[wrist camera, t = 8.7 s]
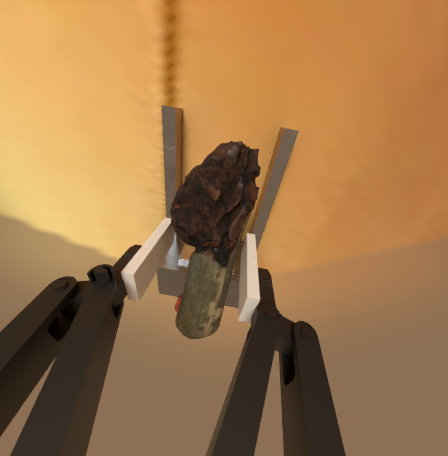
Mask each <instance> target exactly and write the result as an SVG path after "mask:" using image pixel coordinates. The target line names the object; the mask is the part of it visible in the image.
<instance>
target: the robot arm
mask: <svg viewBox="0 0 448 456" xmlns="http://www.w3.org/2000/svg"><path fill="white" fill-rule="evenodd" d="M173 243H174V228H173V226H172V224H171V218H166V217H165V218H164V220H163V221H162V222H161V223H160V225H159V226H158V227H157V228H156V230H155V231H154V232H153V233H152V234H151V236H150V237H149V238H148V239H147V241H146V242H145V243H144V244H143V246H141V245H134V246H132V247H130V248H129V249H128V250H127V251H126V252H125V254H124V255H123V256H122V257H121V258H120V259H119V260H118V261H117V262H116V263H115V265H114V266H113V267H112V266H110V265H106V264H103V265H98V266H96V267H94V268H92V269H91V270H90V271H89V272H88V273H87V275H88V277H89V279H90V281H78V282H77V280H76V279H75V278H74V277H70V276H68V277H62V278H59V279H57V280H55V281H53V282H52V283H50V284H49V285H48V286H47V287H46V288H45V289H44V290H43V291H42V292H41V293H40V294H39V295H38V296H37V297H36V298H35V299H34V300H33V301H32V302H31V303H30V304H29V305H28V306H26V308H24V309H23V311H21V312H20V313H19V314H18V315H17V316H16V317H15V318H14V319H13V320H12V321H11V322H10V323H9V324H8V325H7V326H6V327H5V328H4V329H3V330H2V331H1V332H0V437H1V435H2V434H3V432H4V431H5V429H6V428H7V426H8V425H9V424H10V422H11V421H12V419H13V418H14V416H15V415H16V413H17V412H18V411H19V409H20V408H21V406H22V405H23V403H24V402H25V401H26V399H27V398H28V396H29V395H30V393H31V392H32V390H33V389H34V387H35V386H36V385H37V383H38V382H39V380H40V379H41V378H42V376H43V375H44V373H45V372H46V370H47V369H48V367H49V366H50V364H51V363H52V362H53V360H54V359H55V357H56V356H57V357H56V359H55V361H54V363H53V365H52V367H51V370H50V372H49V374H48V376H47V378H46V380H45V382H44V385H43V387H42V389H41V391H40V393H39V395H38V397H37V400H36V402H35V404H34V406H33V408H32V410H31V412H30V415H29V417H28V419H27V421H26V423H25V425H24V427H23V430H22V432H21V434H20V436H19V438H18V440H17V442H16V445H15V447H14V449H13V451H12V453H11V455H10V456H86V452H87V448H88V444H89V440H90V436H91V432H92V428H93V424H94V421H95V416H96V413H97V409H98V404H99V401H100V397H101V393H102V389H103V385H104V381H105V376H106V373H107V369H108V365H109V361H110V357H111V353H112V349H113V345H114V341H115V337H116V333H117V329H118V326H119V321H120V318H121V314H122V309H123V306H124V301H123V300H124V298H125V297H126V295H127V297H128V299H129V300H134V301H140V299H141V298H142V296H143V294H144V293H145V291H146V289H147V287H148V286H149V284H150V282H151V280H152V279H153V277H154V275H155V274H156V272H157V270H158V268H159V267H160V265H161V263H162V262H163V260H164V258H165V256H166V255H167V253H168V251H169V249H170V248H171V246H172V244H173ZM250 320H251V327H250V329H249V331H248V333H247V338H246V341H245V344H244V347H243V349H242V352H241V355H240V358H239V361H238V364H237V367H236V370H235V372H234V376H233V378H232V381H231V384H230V387H229V390H228V393H227V396H226V398H225V401H224V404H223V407H222V410H221V413H220V416H219V419H218V421H217V425H216V427H215V430H214V433H213V436H212V439H211V442H210V444H209V448H208V450H207V453H206V456H254V452H255V447H256V442H257V437H258V432H259V427H260V422H261V417H262V411H263V407H264V401H265V396H266V391H267V386H268V382H269V376H270V371H271V366H272V361H273V356H274V351H275V350H276V351H278V352H279V363H280V384H281V405H282V425H283V445H284V456H346V455H345V451H344V447H343V443H342V439H341V434H340V430H339V425H338V422H337V417H336V413H335V408H334V404H333V400H332V396H331V391H330V387H329V383H328V378H327V374H326V370H325V365H324V361H323V357H322V353H321V348H320V344H319V340H318V336H317V333H316V331H315V330H314V329H313V327H312V326H311V325H309V324H308V323H306V322H304V321H298V322H296V323H294V322H292V321H290V320H288V319H287V318H285V317H283V316H282V315H281V314H280V313H279V311H278V310H277V308H276V305H275V298H274V292H273V287H272V279H271V275H270V273H269V271H268V270H267V269H262V268H258V265H257V252H256V239H255V234H249V233H247V235H246V238H245V242H244V245H243V249H242V252H241V260H240V285H239V310H238V321H242V322H247V323H249V322H250Z"/></svg>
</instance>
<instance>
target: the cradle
mask: <svg viewBox="0 0 448 456" xmlns="http://www.w3.org/2000/svg"><path fill="white" fill-rule="evenodd" d="M182 113H183V109H181V108H175V107H170V106H163V105H162V123H163V146H164V169H165V192H166V216H167V218H171V215H170V209H171V204H172V202H173V201H174V197H175V195H176V192H177V190H178V189H179V188H180V187H181V186H182ZM298 132H299V131H296V130H292V129H287V128H280V132H279V135H278V138H277V142H276V145H275V149H274V152H273V155H272V159H271V162H270V165H269V169H268V172H267V175H266V179H265V182H264V185H263V189H262V192H261V196H260V199H259V202H258V206H257V209H256V212H255V216H254V219H253V222H252V226H251V229H250V232H249V234H255V239H256V250H257V248H258V245H259V242H260V239H261V236H262V233H263V231H264V228H265V225H266V222H267V219H268V217H269V214H270V211H271V208H272V205H273V202H274V200H275V197H276V194H277V191H278V188H279V185H280V183H281V180H282V177H283V174H284V171H285V168H286V166H287V163H288V160H289V157H290V154H291V151H292V149H293V146H294V143H295V140H296V137H297V134H298ZM243 245H244V242H242V241H240V245H239V248H238V252H237V256H236V260H235V264H234V268H233V272H232V276H231V280H230V284H229V288H228V292H227V296H226V300H225V304H224V305H225V306H230V307H236V308H239V285H240V260H241V252H242V249H243ZM194 251H195V247H193V246H190V245H187V244H186V243H184V242H183V241H182V240H181V239H180V237H179V236H178V235H177V234H176V233H175V231H174V243H173V244H172V246H171V248H170V249H169V251H168V253H167V255H166V256H165V258H164V260H163V262H162V263H161V265H160V267H159V268H158V270H157V277H158V287H159V293H160V294H166V295H171V296H176V297H178V300H177V302H176V305H175V310H176V312H178V308H179V304H180V300H181V297H182V294H183V291H184V283H185V278H186V273H187V268H188V264H189V258H190V256H191V254H192V253H193V252H194Z"/></svg>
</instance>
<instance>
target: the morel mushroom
mask: <svg viewBox="0 0 448 456" xmlns="http://www.w3.org/2000/svg"><path fill="white" fill-rule="evenodd" d="M258 152H259V149H256V150H255V149H250V148H249V146H248V147H246V145H245V144H243V142H242V141H240V142H233V141H230V142H229V143H221V144H220V145H219V146H218V147H217V148H216V149H215V150H214V151H213V152H212V153H211V154H209V155H208V156H207V157H206V159H205V160H204V161H203V163H202V164H201V165H198V166H195V167H194V168H193V169H192V170H191V172H190V173H189V174H188V175H187V176H186V177H185V182H184V183H183V185H182V186H181V187H180V188H179V189H178V190H177V192H176V195H175V197H174V201H173V202H172V204H171V209H170V215H171V224H172V226H173V228H174V231H175V233H176V234H177V235H178V236H179V237H180V239H181V240H182V241H183V242H184V243H186V244H187V245H190V246H193V247H195V251H194V252H193V253H192V254H191V256H190V258H189V264H188V268H187V273H186V278H185V283H184V291H183V294H182V297H181V300H180V304H179V308H178V312H177V316H176V326H177V328H178V329H179V331H180V332H181V333H182V334H183V335H184V336H186V337H187V338H190V339H199V338H204V337H207V336H210V335H212V334H214V333H215V332H216V330H217V329H218V327H219V325H220V321H221V317H222V313H223V309H224V304H225V300H226V296H227V292H228V288H229V284H230V280H231V276H232V272H233V268H234V264H235V260H236V256H237V252H238V248H239V245H240V241H241V237H242V233H243V231H244V229H245V227H246V224H247V221H248V218H249V216H250V213H251V211H252V210H253V209H254V204H255V201H256V200H257V194H258V190H259V187H256V184H255V179H256V178H255V177H258V176H259V174H260V166H258Z"/></svg>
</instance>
